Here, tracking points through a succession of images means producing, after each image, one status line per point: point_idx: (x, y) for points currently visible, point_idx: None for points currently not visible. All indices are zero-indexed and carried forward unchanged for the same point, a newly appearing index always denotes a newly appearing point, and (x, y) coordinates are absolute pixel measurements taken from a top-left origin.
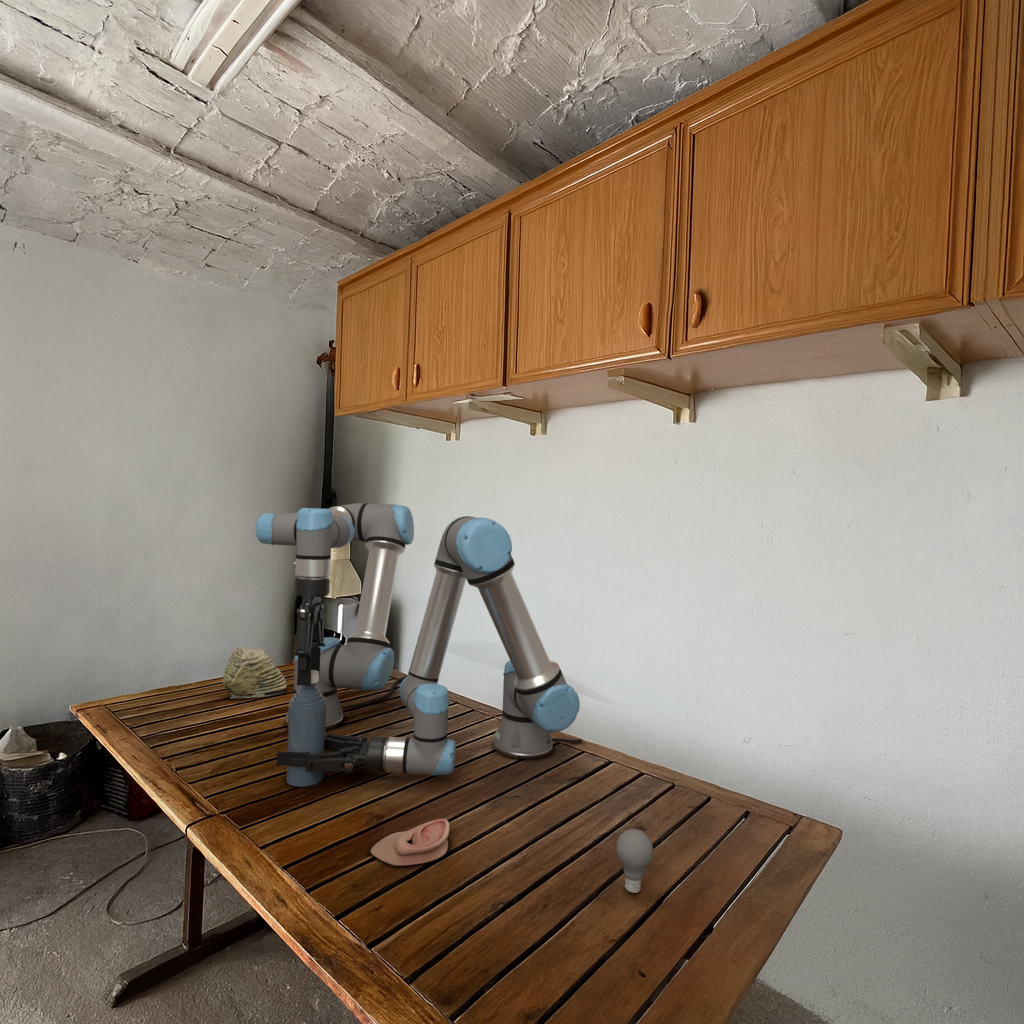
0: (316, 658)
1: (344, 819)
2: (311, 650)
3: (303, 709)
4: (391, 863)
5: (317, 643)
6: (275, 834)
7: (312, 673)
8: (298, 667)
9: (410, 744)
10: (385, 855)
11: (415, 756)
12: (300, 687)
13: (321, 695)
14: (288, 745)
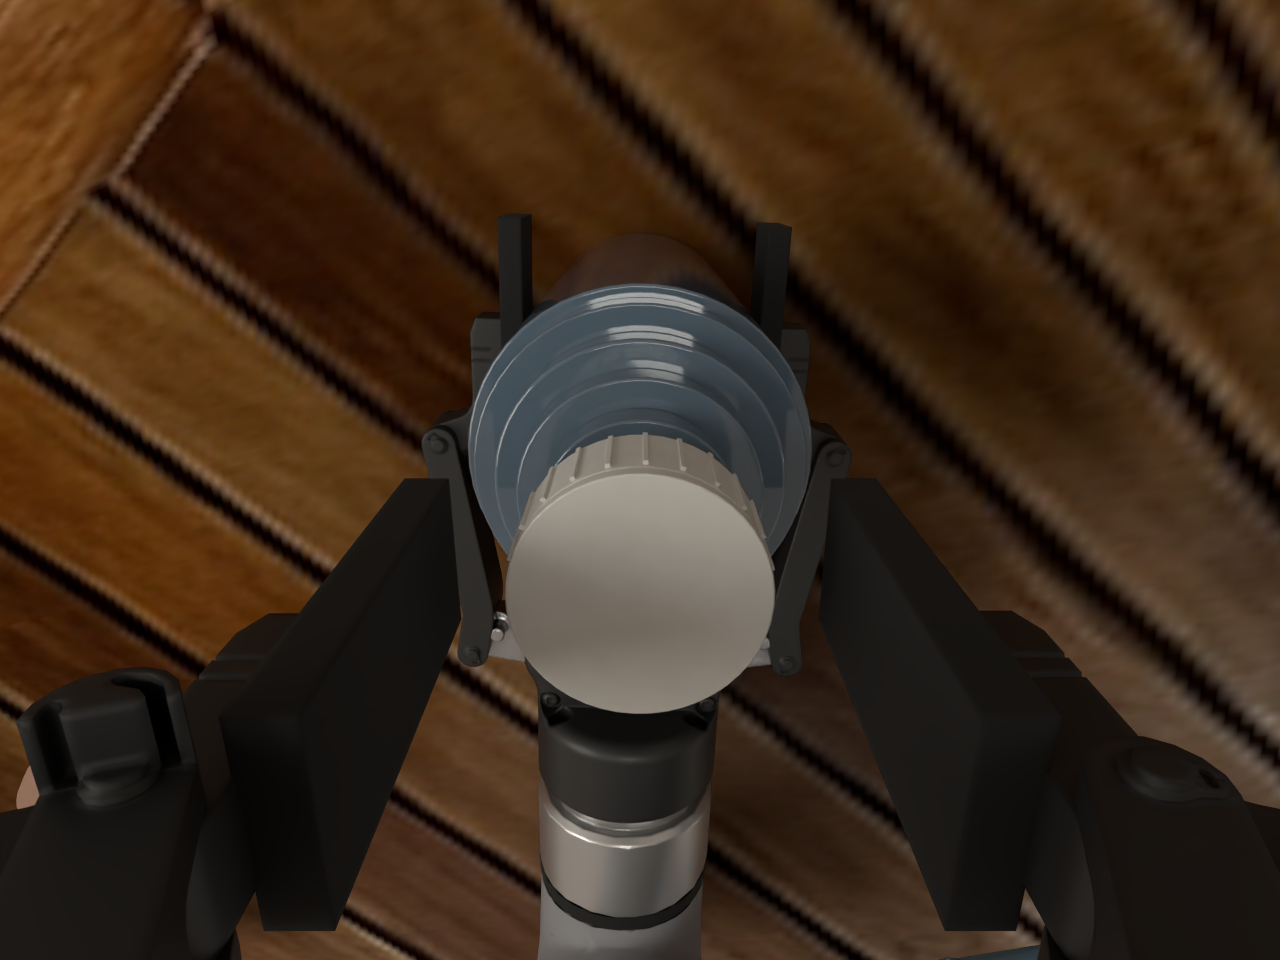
0: (890, 732)
1: (282, 594)
2: (948, 747)
3: (470, 464)
4: (17, 795)
5: (1064, 951)
6: (100, 361)
7: (590, 656)
8: (321, 597)
9: (578, 929)
10: (34, 781)
11: (542, 916)
12: (625, 432)
13: None
14: (566, 274)
